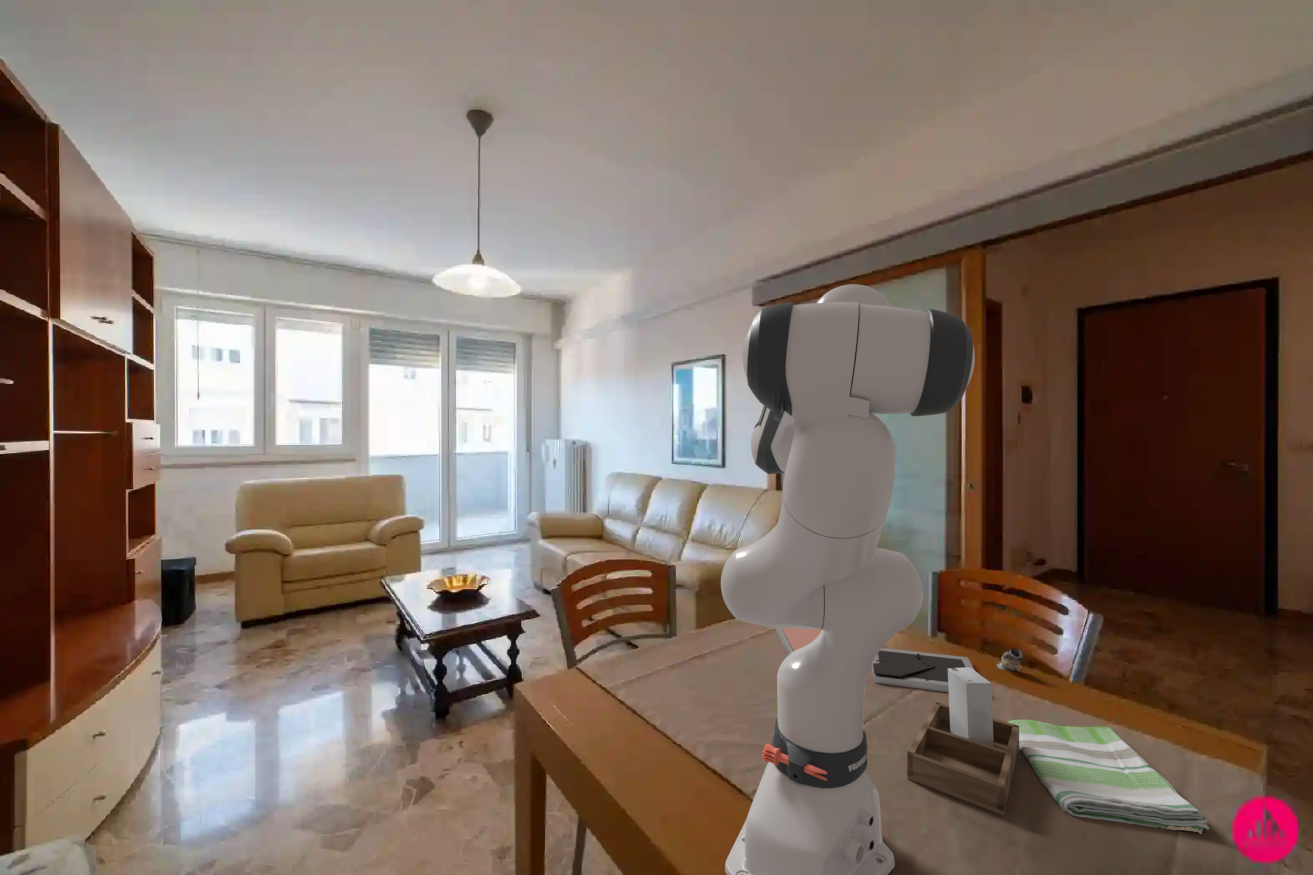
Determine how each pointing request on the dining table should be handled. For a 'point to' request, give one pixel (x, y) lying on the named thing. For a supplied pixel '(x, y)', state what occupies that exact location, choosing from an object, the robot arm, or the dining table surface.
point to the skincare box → (970, 705)
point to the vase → (1011, 660)
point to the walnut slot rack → (964, 761)
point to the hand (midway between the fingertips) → (829, 561)
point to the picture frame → (915, 669)
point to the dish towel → (1102, 777)
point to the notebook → (797, 637)
